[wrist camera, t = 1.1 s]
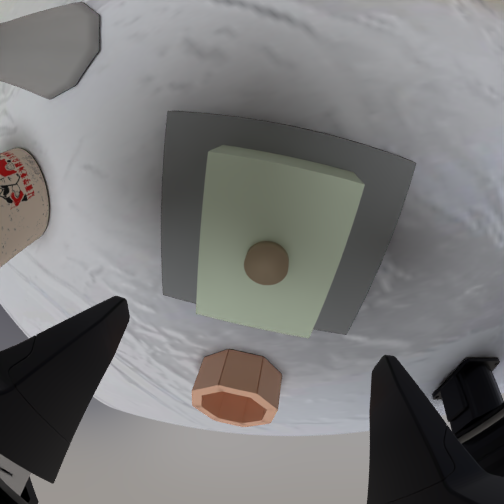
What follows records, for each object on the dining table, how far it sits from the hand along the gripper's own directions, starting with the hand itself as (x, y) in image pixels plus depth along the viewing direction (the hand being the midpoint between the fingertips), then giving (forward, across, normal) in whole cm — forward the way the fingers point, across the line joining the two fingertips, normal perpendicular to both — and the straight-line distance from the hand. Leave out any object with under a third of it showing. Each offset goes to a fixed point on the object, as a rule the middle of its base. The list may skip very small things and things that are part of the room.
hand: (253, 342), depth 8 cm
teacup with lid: (+8, +23, 0) cm, 25 cm away
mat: (+8, 0, 0) cm, 8 cm away
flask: (+8, +16, -11) cm, 21 cm away
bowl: (+8, 0, +14) cm, 16 cm away
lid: (+7, 0, 0) cm, 7 cm away
